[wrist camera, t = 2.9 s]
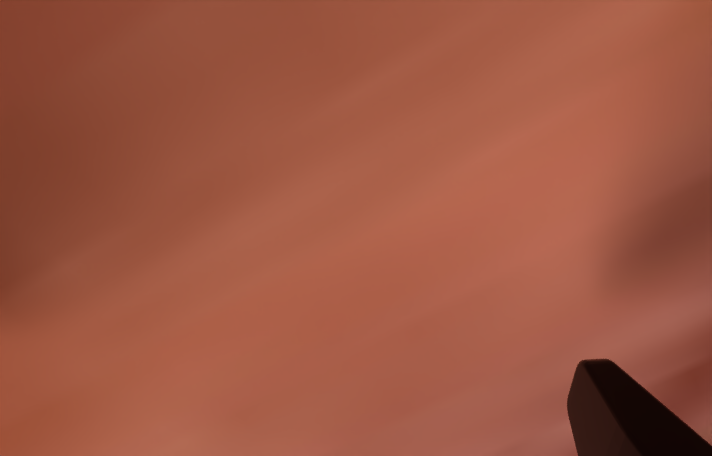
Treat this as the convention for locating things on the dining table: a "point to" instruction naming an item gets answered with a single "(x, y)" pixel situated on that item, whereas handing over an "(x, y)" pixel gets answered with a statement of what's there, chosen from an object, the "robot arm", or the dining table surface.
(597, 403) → the robot arm
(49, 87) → the dining table surface
